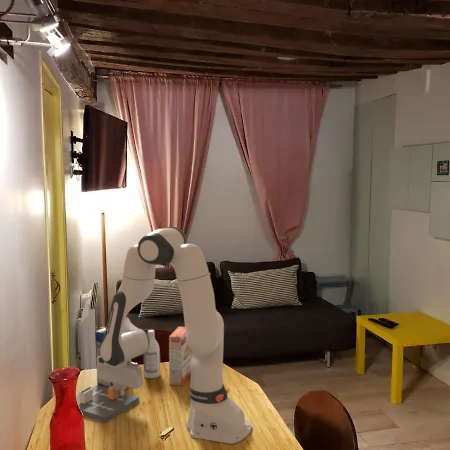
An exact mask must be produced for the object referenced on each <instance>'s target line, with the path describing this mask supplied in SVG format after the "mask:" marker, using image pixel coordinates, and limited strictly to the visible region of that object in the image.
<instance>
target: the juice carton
mask: <svg viewBox="0 0 450 450" xmlns="http://www.w3.org/2000/svg"><path fill="white" fill-rule="evenodd" d="M105 331H106V326H105V327H103V328H100V329H97V330H95V331H94V332H95V333H94V334H95V335H94V336H95V355H96V356H95V357H96V359H95V361H96V365H97V364H98V362H97V357H99V356H100V346H101V343H102V340H103V338H104V335H105ZM96 380H97V381H96V382H97V383H96V385H98V386H101V387H105V388H109V387H111V386H113V383H112V382H108V381H104V380H101V379H99V378H98V377H97V376H96Z"/></svg>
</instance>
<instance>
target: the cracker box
mask: <svg viewBox="0 0 450 450" xmlns="http://www.w3.org/2000/svg"><path fill="white" fill-rule="evenodd" d="M168 341H169V342H168V360H169V361H168V362H169V363H168V364H169V365H168V367H169V369H168V370H169V371H168V372H169V374H168V377H169V385H170V386H179V387H182V386H183V385H184V384H185V382H186V381H187V379H188V378H189V376H191V355H192V351H191V350H190V349H189V347H188V344H187V334H186V328H185V326H177V328H176V329H175V330H174V331H172V333H171V334H170V335H169V337H168Z"/></svg>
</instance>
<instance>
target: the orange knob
mask: <svg viewBox="0 0 450 450" xmlns="http://www.w3.org/2000/svg"><path fill="white" fill-rule="evenodd" d="M119 386H120V385H119ZM121 388H122V387H120V389H121ZM119 396H120V395H117V394H116V390H115V388H114V386H111V387H109V388H108V399H112V400H114V399H115V398H117V397H119Z"/></svg>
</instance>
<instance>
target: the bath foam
mask: <svg viewBox="0 0 450 450" xmlns="http://www.w3.org/2000/svg"><path fill="white" fill-rule="evenodd" d="M147 334H148V337H149V342H150V343H149V349H148V351H147V352H146V353H144V354H143V377H144V378H147V379H156V378H158V377H160V376H161V351H160V345H159V343H158V341H157V340H156V337H155V334H156V332H155V329H148V330H147Z"/></svg>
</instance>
